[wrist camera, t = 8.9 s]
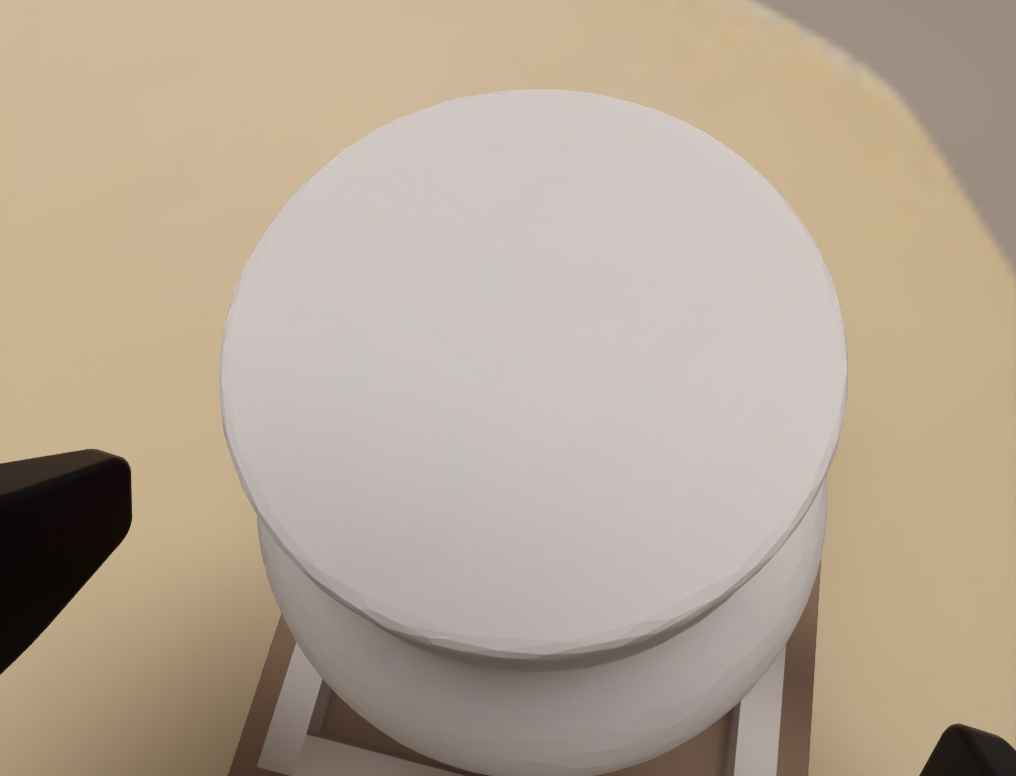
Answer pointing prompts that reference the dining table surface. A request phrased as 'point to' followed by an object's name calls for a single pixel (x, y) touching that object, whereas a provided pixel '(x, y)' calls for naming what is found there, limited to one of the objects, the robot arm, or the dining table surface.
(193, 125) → the dining table surface
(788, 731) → the seat plate
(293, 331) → the supplement bottle
